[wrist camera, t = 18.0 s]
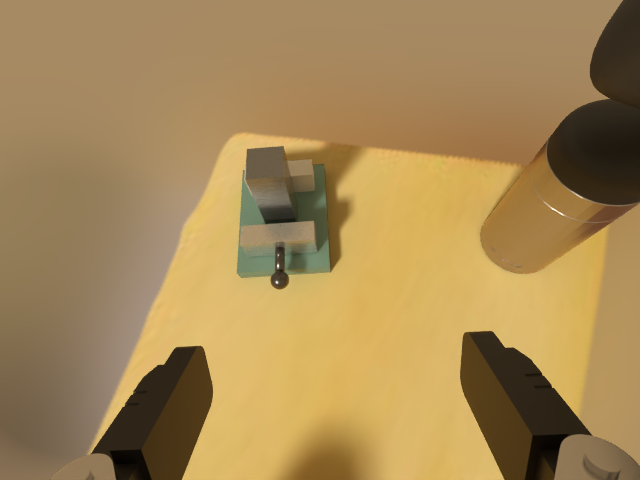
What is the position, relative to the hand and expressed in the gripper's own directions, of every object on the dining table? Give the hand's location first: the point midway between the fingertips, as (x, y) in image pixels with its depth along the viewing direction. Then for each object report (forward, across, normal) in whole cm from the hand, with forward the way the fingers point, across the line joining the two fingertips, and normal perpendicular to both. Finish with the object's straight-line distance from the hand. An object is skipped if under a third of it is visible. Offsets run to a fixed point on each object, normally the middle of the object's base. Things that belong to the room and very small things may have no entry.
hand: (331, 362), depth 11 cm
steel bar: (+37, +7, +6) cm, 38 cm away
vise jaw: (+32, +7, +11) cm, 35 cm away
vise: (+39, +7, +7) cm, 40 cm away
